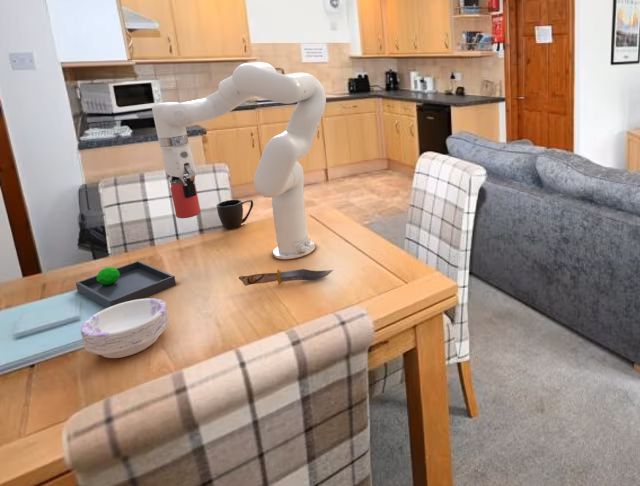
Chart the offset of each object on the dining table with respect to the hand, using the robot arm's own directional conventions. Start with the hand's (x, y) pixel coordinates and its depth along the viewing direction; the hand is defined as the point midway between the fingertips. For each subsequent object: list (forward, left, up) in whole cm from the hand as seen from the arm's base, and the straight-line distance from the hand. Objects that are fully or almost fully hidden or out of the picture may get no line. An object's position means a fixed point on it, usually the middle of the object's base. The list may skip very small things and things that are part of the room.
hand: (184, 194), depth 150 cm
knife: (-47, -1, -21) cm, 52 cm away
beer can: (0, 0, -7) cm, 7 cm away
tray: (-7, +22, -20) cm, 31 cm away
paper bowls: (-39, +34, -21) cm, 56 cm away
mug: (+11, -21, -21) cm, 31 cm away
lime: (-1, +24, -20) cm, 31 cm away
